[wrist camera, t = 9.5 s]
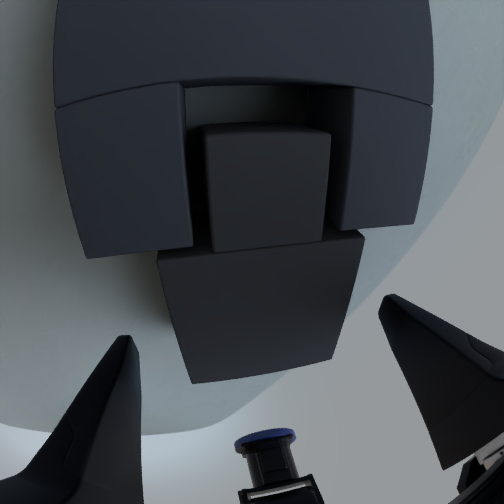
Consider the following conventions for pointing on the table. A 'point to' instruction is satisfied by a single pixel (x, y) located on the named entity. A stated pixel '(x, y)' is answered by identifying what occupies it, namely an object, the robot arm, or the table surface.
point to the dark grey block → (235, 73)
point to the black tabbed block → (260, 256)
